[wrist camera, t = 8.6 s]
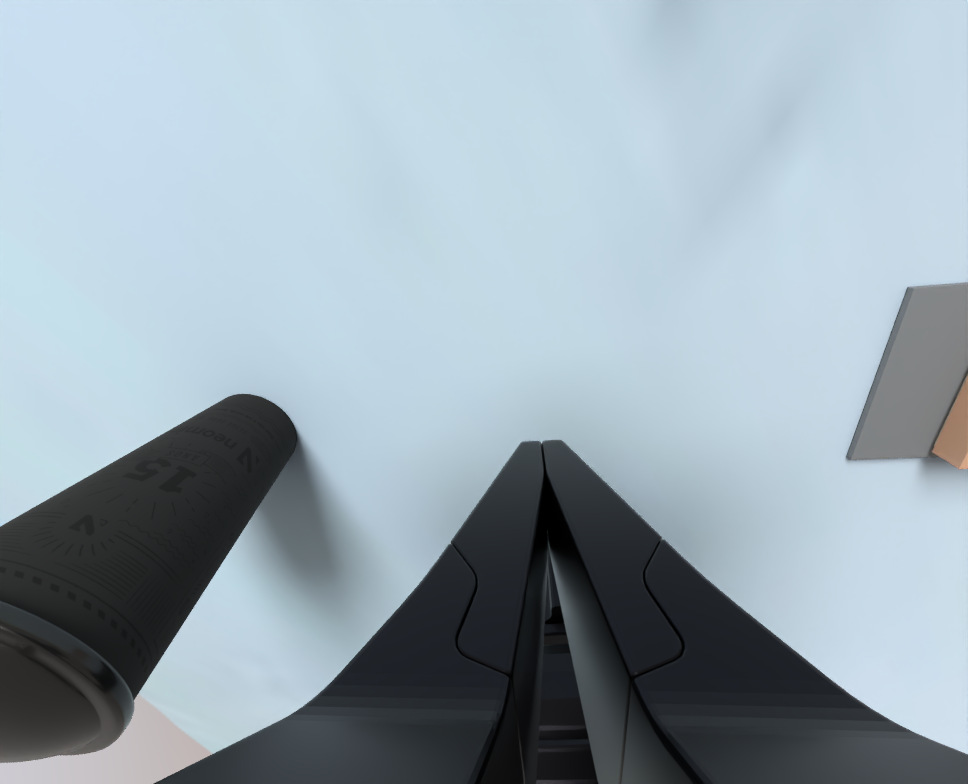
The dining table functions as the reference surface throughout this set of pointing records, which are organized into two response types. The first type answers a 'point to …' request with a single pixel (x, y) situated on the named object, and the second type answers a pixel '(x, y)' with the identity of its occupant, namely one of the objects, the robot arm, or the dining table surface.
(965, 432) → the tile
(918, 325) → the mat
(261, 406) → the drinking cup
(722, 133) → the dining table surface
